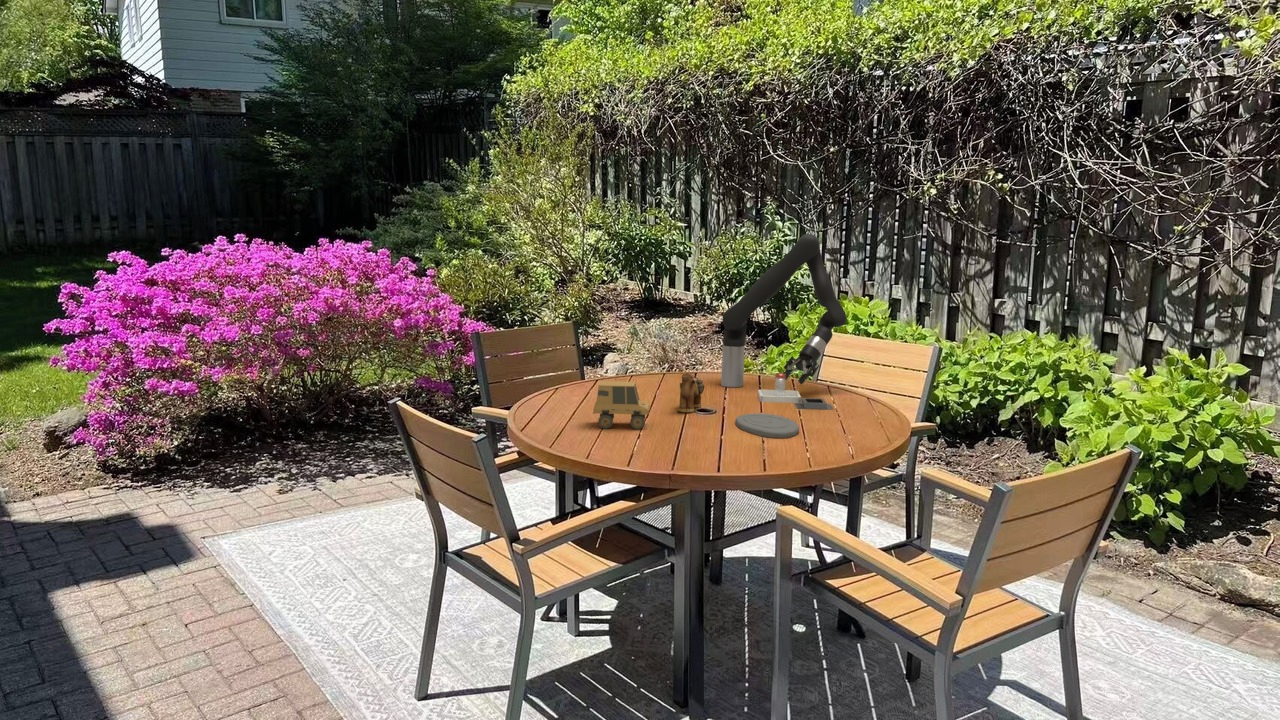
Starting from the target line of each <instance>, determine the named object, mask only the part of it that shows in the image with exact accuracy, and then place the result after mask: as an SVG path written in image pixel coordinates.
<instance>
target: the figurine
mask: <svg viewBox="0 0 1280 720" xmlns="http://www.w3.org/2000/svg"><path fill="white" fill-rule="evenodd" d="M703 382H704V380H702V379H699V378H698V377H696V376H693V375H692V374H691V373H690V372H686V373H683V374H682V375H681V382H680V383H679V389H680V391H679V407H678V408H677V412H678V413H688V414H689V413H694V412H695V411H696V409H695V408H698V409H699V408H701V407H702V394H703V393H704V391H705V385H704V384H703Z"/></svg>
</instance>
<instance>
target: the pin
mask: <svg viewBox="0 0 1280 720" xmlns="http://www.w3.org/2000/svg"><path fill="white" fill-rule="evenodd" d="M774 375H775V379H774V390H775V394H774V396H785V390H786V383H787V382H786V381H787V380H786V374H785V372H776V373H775V374H774Z"/></svg>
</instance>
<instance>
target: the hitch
mask: <svg viewBox="0 0 1280 720" xmlns="http://www.w3.org/2000/svg"><path fill="white" fill-rule="evenodd" d="M793 404H794V406H795V409H797V410H818V411H819V410H823V411H825V410H826V411H835V408H834V407H833V405H832V404H831V403H827V401H826V400H825V399H824V398H819V397H817V398H815V397H814V398H812V397H810V398H809V397H801V403H793Z"/></svg>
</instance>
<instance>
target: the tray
mask: <svg viewBox="0 0 1280 720" xmlns="http://www.w3.org/2000/svg"><path fill="white" fill-rule="evenodd" d="M774 394H775V389H758V390H757V398H758V400H759V403H783V404H785V403H789V404H792V403H793V404H794V403H801V401H802V396H801V395H800V392H799V391H798V390H790V389H789V390H787V389H785V396H774Z"/></svg>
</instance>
